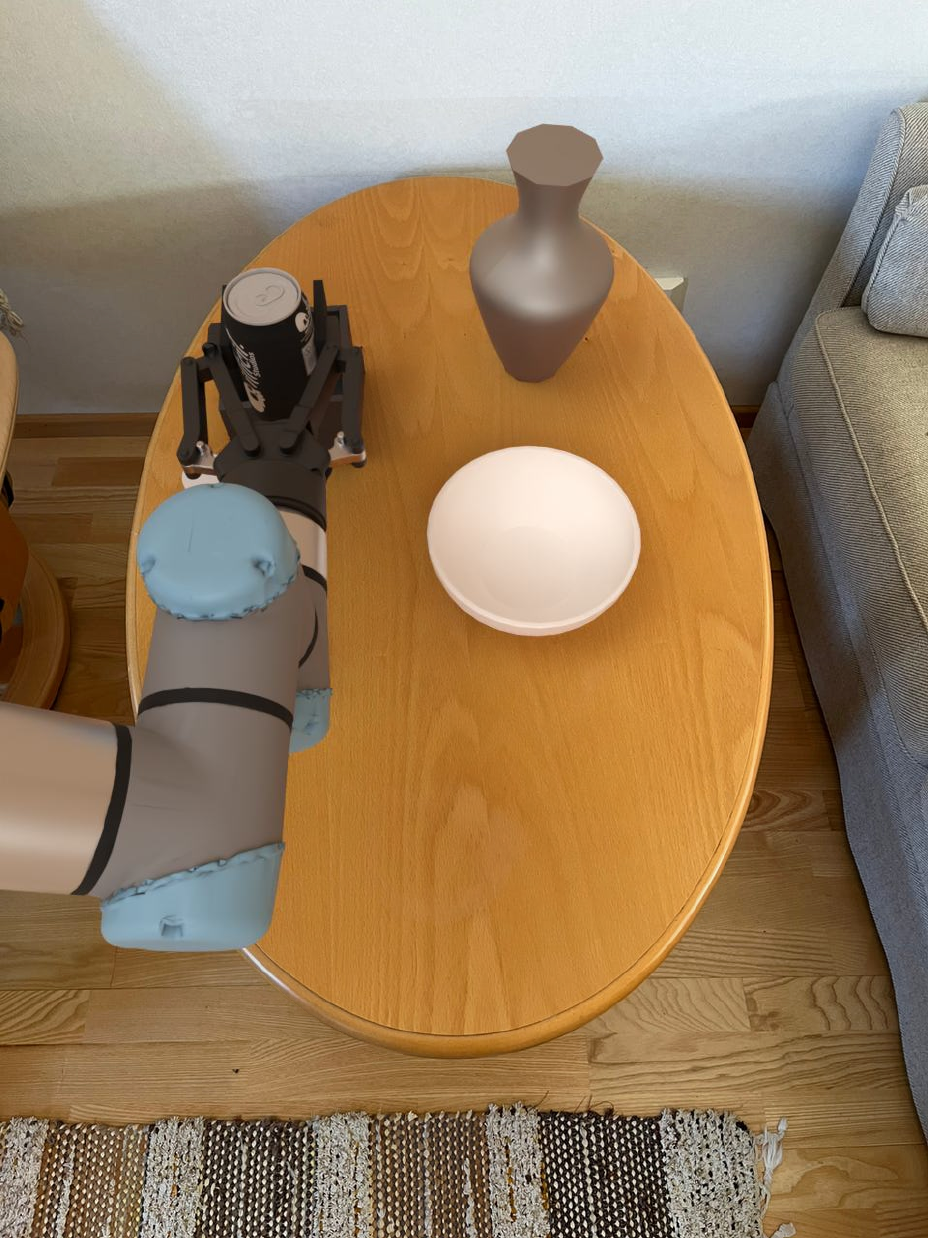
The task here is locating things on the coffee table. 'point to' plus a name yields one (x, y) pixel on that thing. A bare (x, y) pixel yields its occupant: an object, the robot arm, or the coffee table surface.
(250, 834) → the robot arm
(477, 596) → the bowl
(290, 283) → the beverage can
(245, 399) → the trash bin
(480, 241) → the vase
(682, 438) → the coffee table surface
